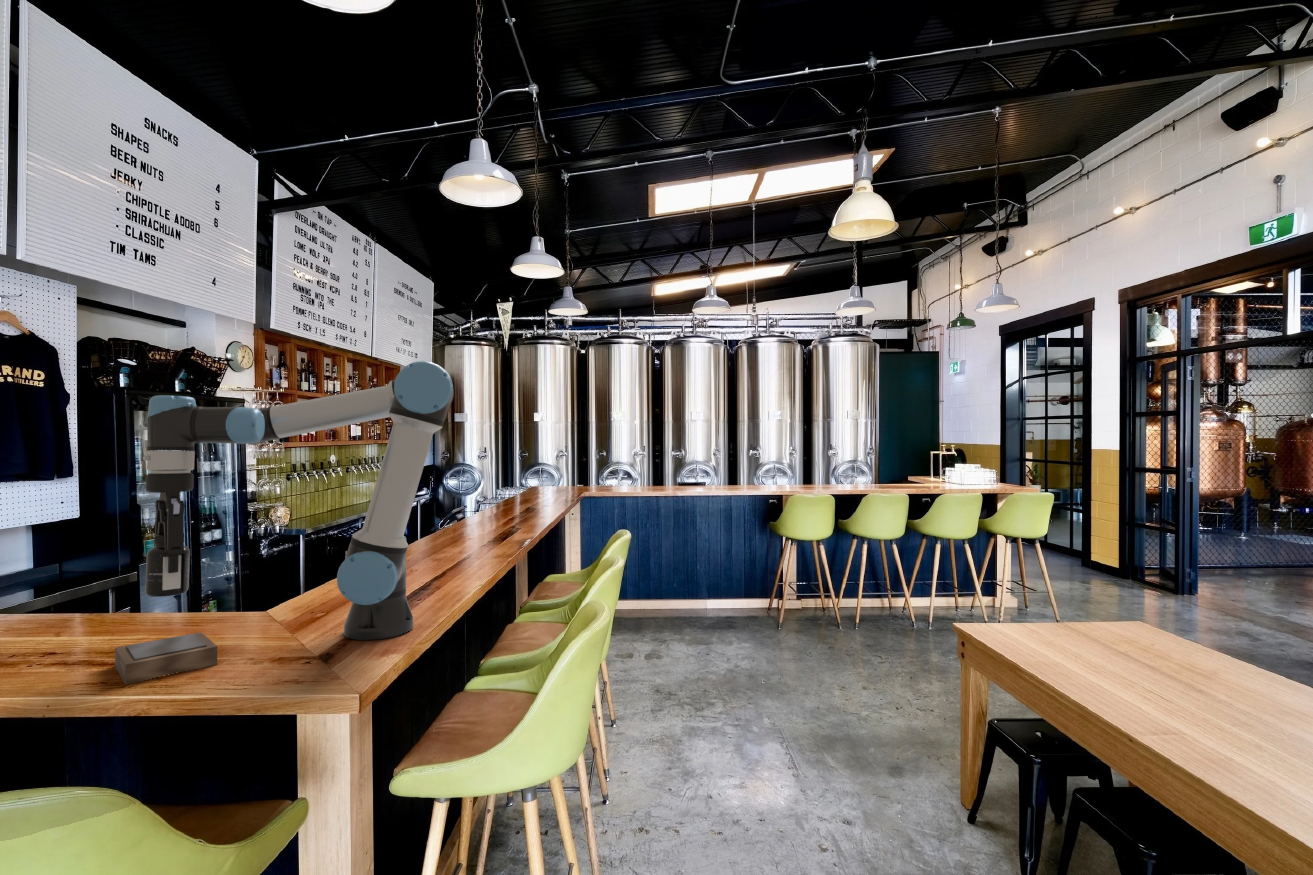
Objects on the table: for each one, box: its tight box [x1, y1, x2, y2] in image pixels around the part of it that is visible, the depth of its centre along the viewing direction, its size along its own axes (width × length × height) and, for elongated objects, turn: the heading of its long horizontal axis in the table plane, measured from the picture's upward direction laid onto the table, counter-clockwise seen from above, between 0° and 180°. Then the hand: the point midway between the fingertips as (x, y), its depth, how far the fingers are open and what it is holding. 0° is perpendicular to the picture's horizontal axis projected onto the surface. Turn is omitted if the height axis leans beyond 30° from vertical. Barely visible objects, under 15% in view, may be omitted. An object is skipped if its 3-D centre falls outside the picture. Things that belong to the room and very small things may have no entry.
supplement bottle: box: [144, 533, 191, 598], centre depth 121 cm, size 7×7×12 cm
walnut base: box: [114, 631, 218, 686], centre depth 121 cm, size 14×14×4 cm
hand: (167, 585), depth 121 cm, fingers closed on supplement bottle, 7 cm apart
